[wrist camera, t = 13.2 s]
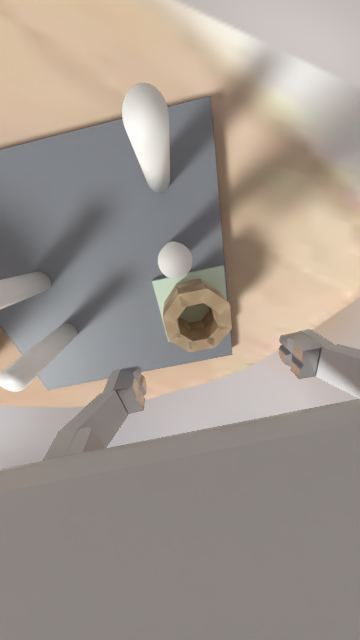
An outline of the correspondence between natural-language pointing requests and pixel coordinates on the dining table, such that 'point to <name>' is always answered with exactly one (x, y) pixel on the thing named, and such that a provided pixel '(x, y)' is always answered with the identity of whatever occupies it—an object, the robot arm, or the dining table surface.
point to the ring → (197, 332)
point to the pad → (209, 275)
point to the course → (106, 240)
